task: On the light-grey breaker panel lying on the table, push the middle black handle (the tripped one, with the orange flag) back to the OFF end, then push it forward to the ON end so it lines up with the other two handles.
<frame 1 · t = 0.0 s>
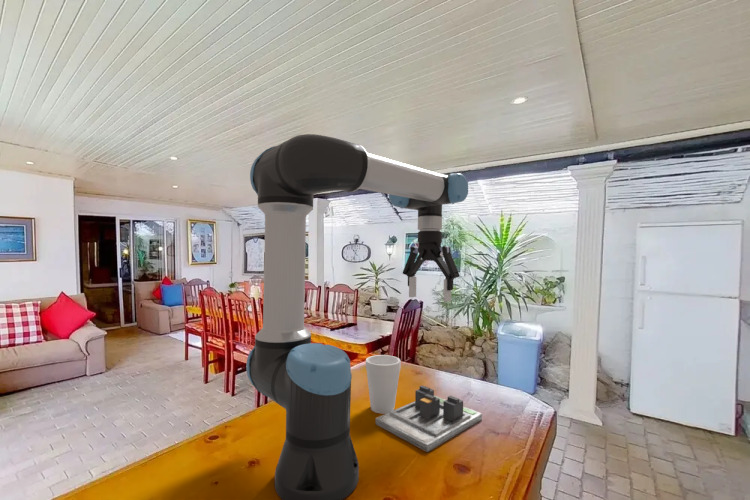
hand: (429, 299, 107), 28 cm above the table, fingers open, 13 cm apart
breaker b: (429, 405, 85), point 4 cm above the table, slide at 0.0 cm
breaker a: (424, 396, 91), point 4 cm above the table, slide at 3.5 cm
panel: (429, 421, 85), on the table
breaker c: (453, 407, 85), point 4 cm above the table, slide at 3.5 cm
foam cup: (382, 409, 93), on the table
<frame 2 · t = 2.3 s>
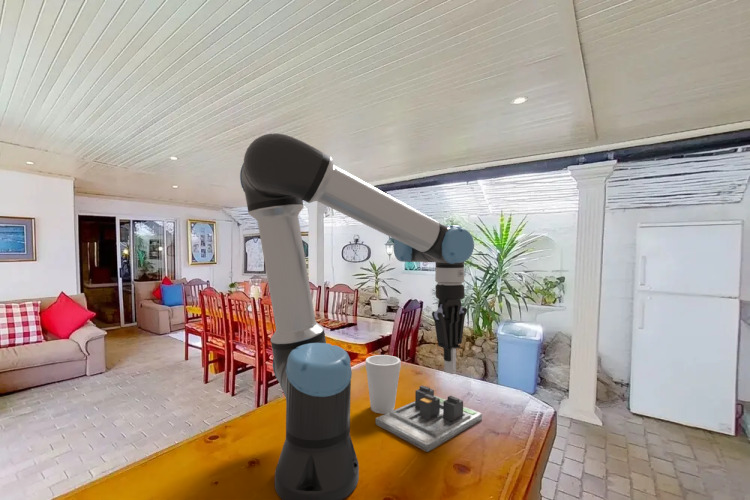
hand: (450, 372, 91), 10 cm above the table, fingers closed
nothing on the table moved.
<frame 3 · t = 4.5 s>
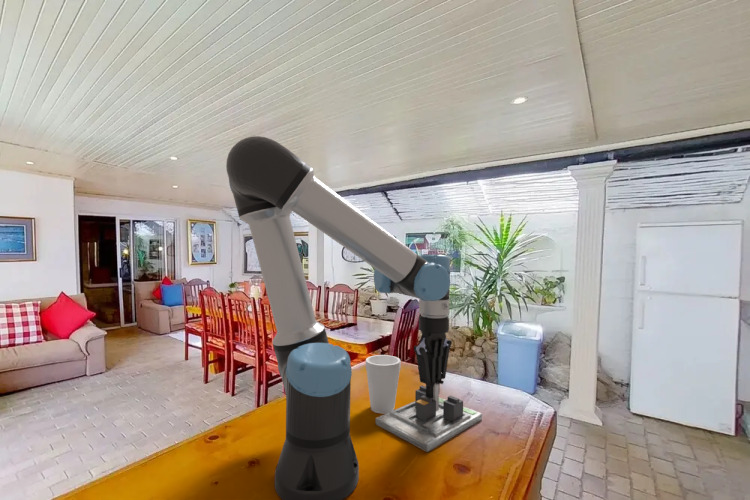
hand: (432, 409, 86), 3 cm above the table, fingers closed
breaker b: (425, 407, 84), point 4 cm above the table, slide at -1.5 cm, touching gripper
everything else where it was.
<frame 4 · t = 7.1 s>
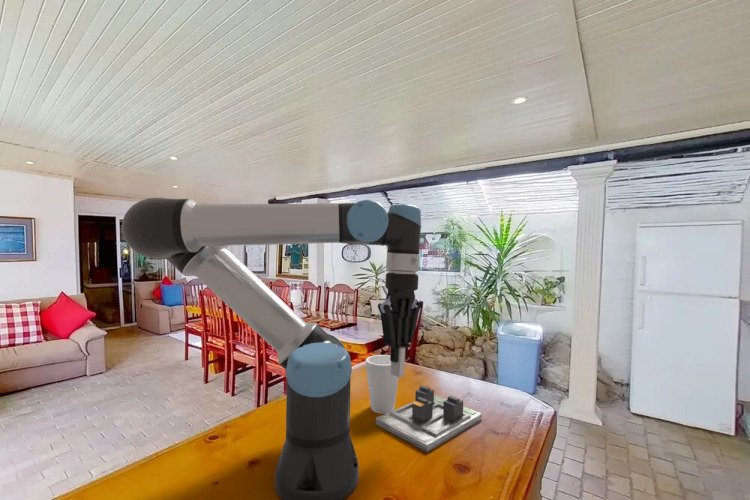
hand: (397, 375, 79), 14 cm above the table, fingers closed
breaker b: (421, 409, 83), point 4 cm above the table, slide at -2.9 cm
everything else where it was.
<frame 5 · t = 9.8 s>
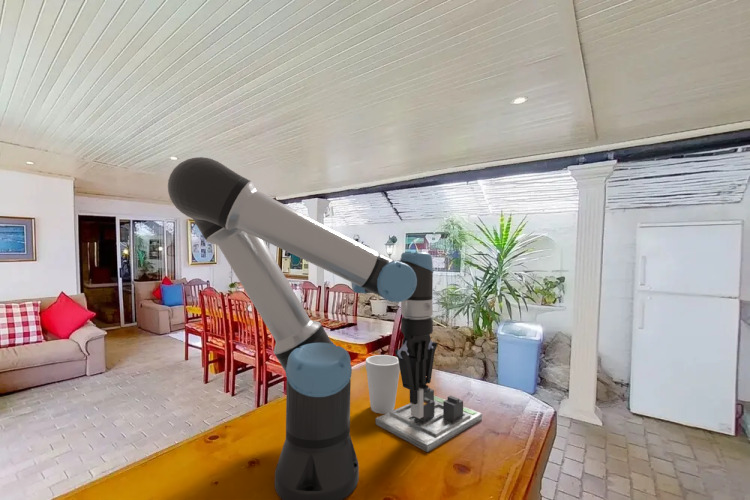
hand: (417, 415, 82), 3 cm above the table, fingers closed
breaker b: (424, 408, 84), point 4 cm above the table, slide at -2.1 cm, touching gripper
everything else where it was.
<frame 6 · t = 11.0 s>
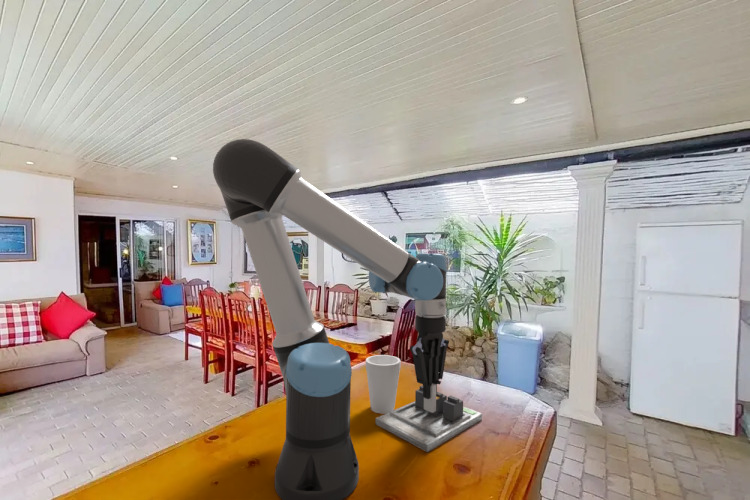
hand: (429, 409, 85), 3 cm above the table, fingers closed
breaker b: (436, 402, 87), point 4 cm above the table, slide at 3.0 cm, touching gripper
everything else where it was.
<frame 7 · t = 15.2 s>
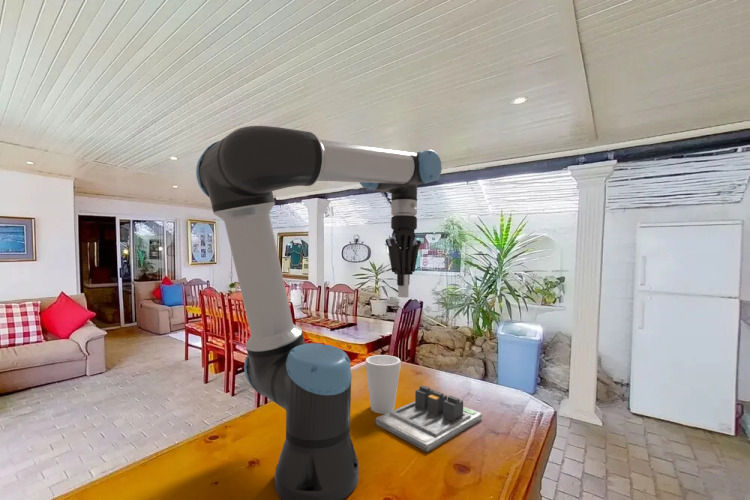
hand: (403, 296, 100), 29 cm above the table, fingers closed
breaker b: (437, 402, 88), point 4 cm above the table, slide at 3.1 cm
everything else where it was.
at the end: breaker b slide at 3.1 cm; breaker a slide at 3.5 cm; breaker c slide at 3.5 cm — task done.
